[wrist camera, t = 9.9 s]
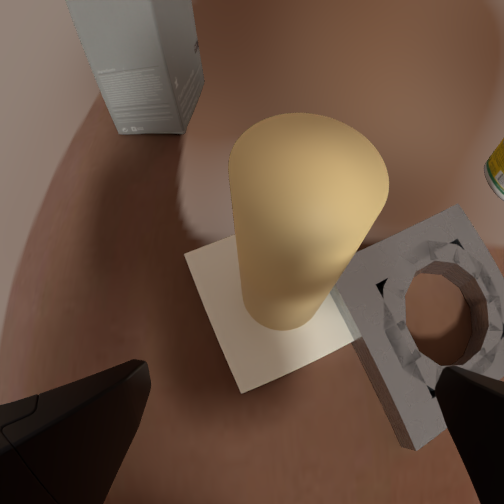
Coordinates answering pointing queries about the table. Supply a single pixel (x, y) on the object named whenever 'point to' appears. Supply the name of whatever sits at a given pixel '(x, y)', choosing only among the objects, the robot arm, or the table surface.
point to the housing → (394, 316)
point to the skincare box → (142, 60)
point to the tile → (251, 332)
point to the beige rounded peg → (300, 211)
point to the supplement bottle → (496, 170)
